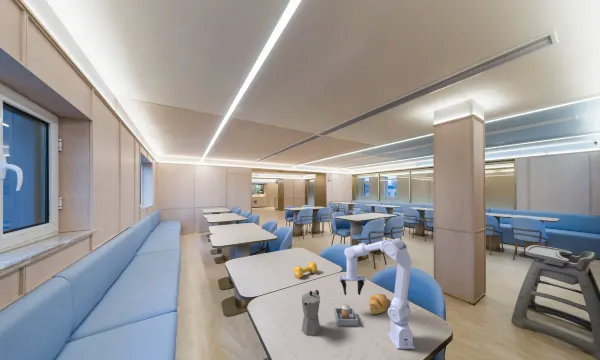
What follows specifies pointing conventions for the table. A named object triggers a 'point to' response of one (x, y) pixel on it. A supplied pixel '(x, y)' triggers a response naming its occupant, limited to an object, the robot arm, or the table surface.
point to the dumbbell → (305, 270)
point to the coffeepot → (311, 313)
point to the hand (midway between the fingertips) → (352, 294)
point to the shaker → (345, 311)
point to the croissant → (378, 303)
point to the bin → (345, 322)
